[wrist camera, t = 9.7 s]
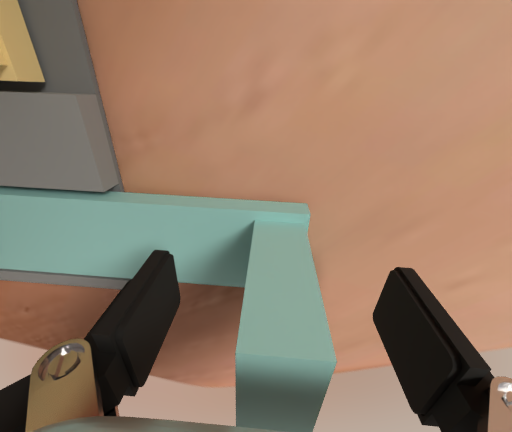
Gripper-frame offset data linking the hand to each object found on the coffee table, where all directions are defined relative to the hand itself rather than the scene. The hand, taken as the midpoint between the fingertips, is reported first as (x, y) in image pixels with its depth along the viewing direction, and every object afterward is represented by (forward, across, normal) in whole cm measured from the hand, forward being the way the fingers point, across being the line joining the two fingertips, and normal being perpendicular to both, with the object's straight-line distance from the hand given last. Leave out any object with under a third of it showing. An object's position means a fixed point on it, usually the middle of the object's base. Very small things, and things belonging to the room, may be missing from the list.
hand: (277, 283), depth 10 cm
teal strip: (+4, +13, 0) cm, 13 cm away
